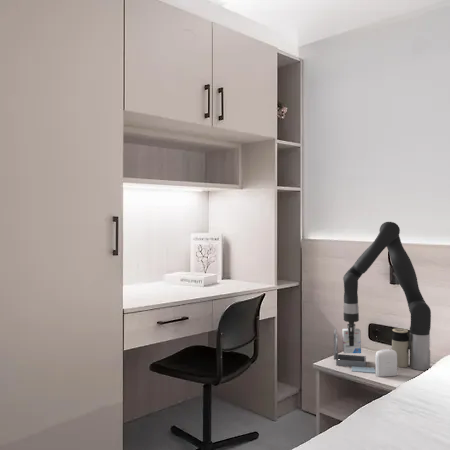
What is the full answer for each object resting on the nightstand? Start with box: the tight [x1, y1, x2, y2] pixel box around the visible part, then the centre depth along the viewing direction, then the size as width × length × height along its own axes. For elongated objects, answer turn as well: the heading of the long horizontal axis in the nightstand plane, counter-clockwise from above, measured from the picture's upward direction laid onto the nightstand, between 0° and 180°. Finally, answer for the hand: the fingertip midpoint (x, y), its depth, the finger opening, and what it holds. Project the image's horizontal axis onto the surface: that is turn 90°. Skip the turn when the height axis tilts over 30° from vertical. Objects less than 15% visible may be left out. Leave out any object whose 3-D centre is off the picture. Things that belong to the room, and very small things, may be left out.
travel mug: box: [391, 327, 410, 368], centre depth 241 cm, size 8×8×18 cm
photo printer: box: [374, 348, 398, 377], centre depth 227 cm, size 10×4×12 cm, turn 96°
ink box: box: [341, 328, 362, 354], centre depth 244 cm, size 9×5×12 cm, turn 84°
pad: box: [351, 366, 376, 374], centre depth 234 cm, size 11×7×1 cm, turn 74°
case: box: [333, 328, 367, 368], centre depth 245 cm, size 16×11×16 cm
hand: (351, 344), depth 244 cm, fingers closed on ink box, 5 cm apart
